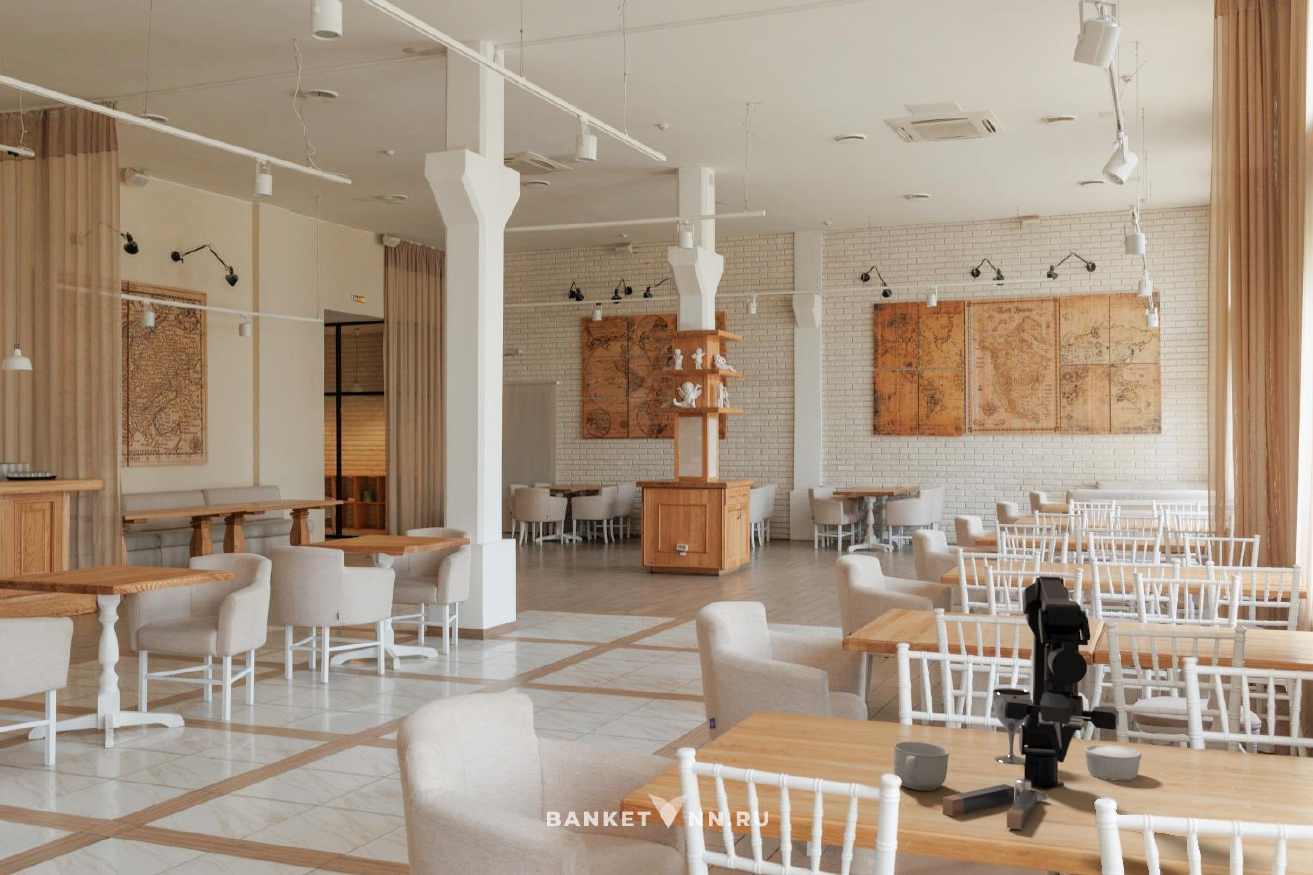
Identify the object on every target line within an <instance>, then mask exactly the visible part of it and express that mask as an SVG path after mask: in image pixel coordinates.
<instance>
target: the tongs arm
mask: <svg viewBox="0 0 1313 875" xmlns="http://www.w3.org/2000/svg"><path fill="white" fill-rule="evenodd" d="M1034 790H1035V789H1032V790H1027V789H1023V790H1022V792H1021V793H1020V795H1019V796H1018V797H1017V799H1016V800H1015V799H1014V803H1012V805H1011V806H1010V808H1009V809H1008V810H1007V812H1006V828H1007V829H1013V830H1020V831H1021V830H1022V828H1024V825H1025V824H1026V822H1027V821H1028V819H1029V817H1030V816H1031V814H1032V812H1033V811H1034V809H1035V807H1036V805H1037V802H1036V791H1037V790H1035V791H1034Z"/></svg>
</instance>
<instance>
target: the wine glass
mask: <svg viewBox="0 0 1313 875" xmlns="http://www.w3.org/2000/svg"><path fill="white" fill-rule="evenodd" d="M992 690H993V691H992V702H993V709H994V714H995V717H996V718H997V719H998V721H999V722H1000V724H1002V726H1003V727H1004V728H1005V730H1006V732H1007V735H1008V741H1009V744H1008V745H1009V752H1008V754H1007V755H998V756H995V757H994V760H995V761H996V762H998V763H1002V764H1007V765H1024V763H1025V757H1022V756H1017V755H1015V753H1014V744H1015V736H1016V733H1017V731H1018V730H1019V729H1020V728H1021V725H1024V719H1022V720H1020V719H1011V718H1006V717H1005V705H1006V704H1007V703H1008V702H1009V701H1010V700H1011V699H1012V698H1018V699H1028V700H1032V694H1031V691H1029V690H1025V689H1021V688H1013V687H999V688H994V689H992Z"/></svg>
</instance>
